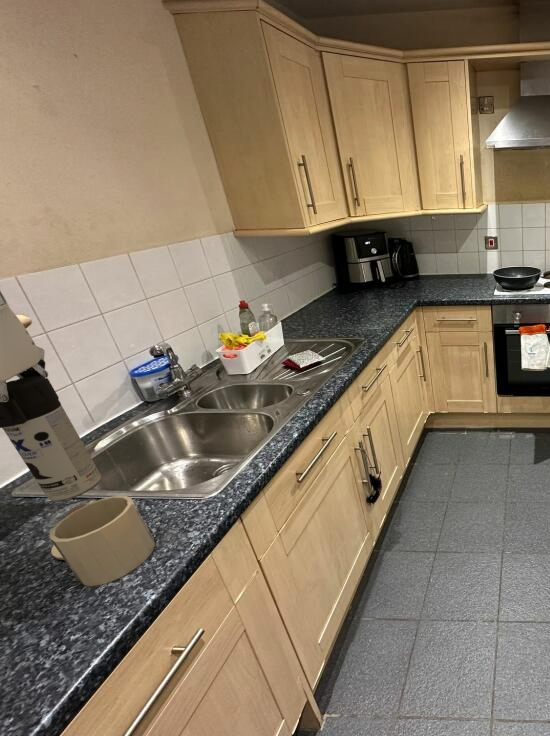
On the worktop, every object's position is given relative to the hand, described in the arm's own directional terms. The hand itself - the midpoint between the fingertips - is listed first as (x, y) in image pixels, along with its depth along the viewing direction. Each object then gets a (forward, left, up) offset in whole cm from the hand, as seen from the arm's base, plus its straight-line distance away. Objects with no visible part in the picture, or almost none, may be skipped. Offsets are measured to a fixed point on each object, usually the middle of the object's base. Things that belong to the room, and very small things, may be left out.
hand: (30, 412), depth 63 cm
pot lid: (-7, +7, -30) cm, 32 cm away
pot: (+1, -2, -31) cm, 31 cm away
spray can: (0, 0, -15) cm, 15 cm away
